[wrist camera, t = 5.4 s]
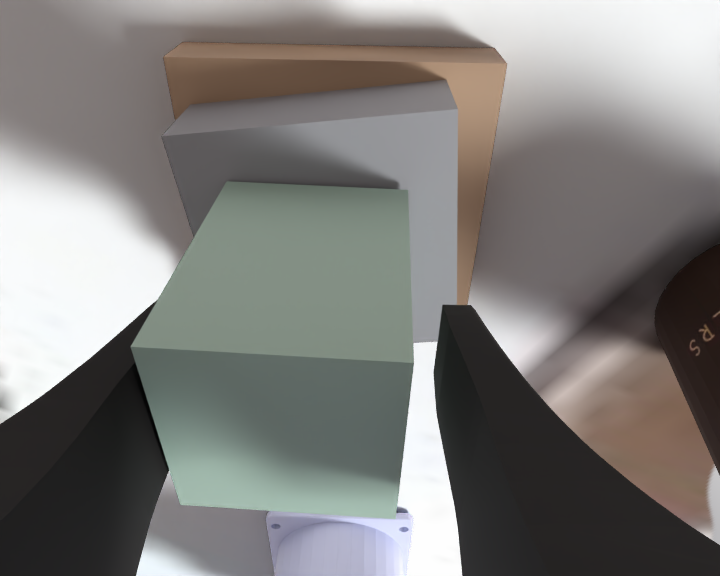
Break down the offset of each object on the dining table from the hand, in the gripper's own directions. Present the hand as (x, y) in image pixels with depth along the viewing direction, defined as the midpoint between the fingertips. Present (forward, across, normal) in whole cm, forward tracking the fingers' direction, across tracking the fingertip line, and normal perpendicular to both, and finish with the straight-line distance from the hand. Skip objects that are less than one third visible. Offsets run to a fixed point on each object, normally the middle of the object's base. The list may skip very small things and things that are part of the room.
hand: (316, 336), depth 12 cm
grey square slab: (+6, 0, 0) cm, 6 cm away
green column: (+3, 0, 0) cm, 3 cm away
